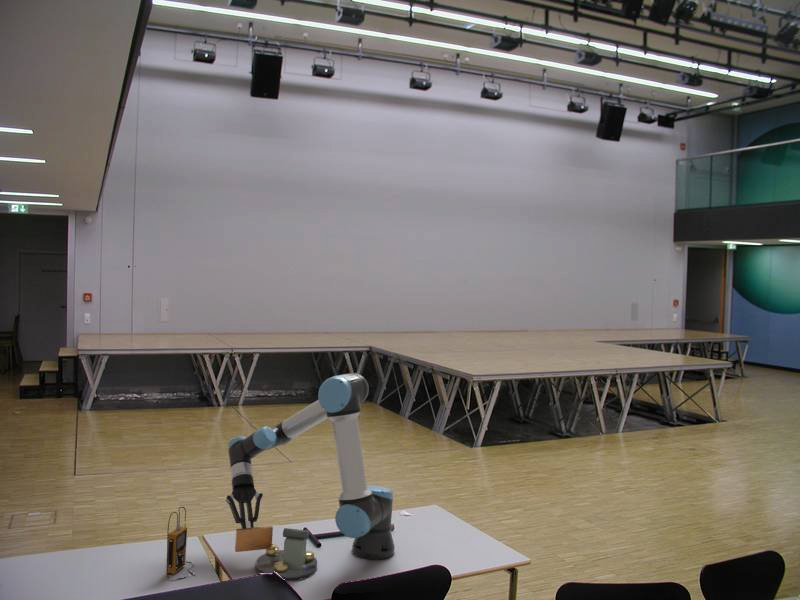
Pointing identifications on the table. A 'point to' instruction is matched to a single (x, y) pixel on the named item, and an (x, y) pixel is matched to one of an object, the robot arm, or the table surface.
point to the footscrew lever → (256, 540)
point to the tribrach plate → (291, 573)
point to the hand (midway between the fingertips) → (249, 541)
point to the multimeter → (176, 547)
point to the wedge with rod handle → (295, 547)
